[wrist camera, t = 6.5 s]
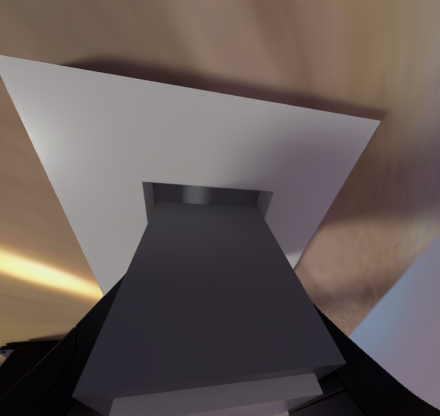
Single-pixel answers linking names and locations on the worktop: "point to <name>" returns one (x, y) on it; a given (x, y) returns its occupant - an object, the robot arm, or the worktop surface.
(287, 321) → the plug
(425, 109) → the worktop surface
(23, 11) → the worktop surface
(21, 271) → the worktop surface
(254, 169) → the socket block
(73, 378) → the robot arm
